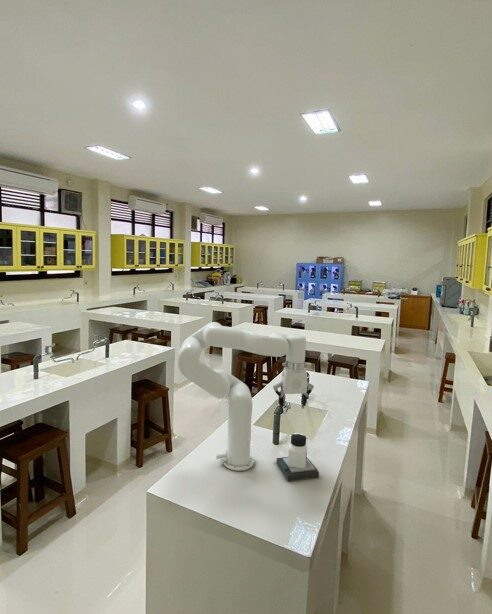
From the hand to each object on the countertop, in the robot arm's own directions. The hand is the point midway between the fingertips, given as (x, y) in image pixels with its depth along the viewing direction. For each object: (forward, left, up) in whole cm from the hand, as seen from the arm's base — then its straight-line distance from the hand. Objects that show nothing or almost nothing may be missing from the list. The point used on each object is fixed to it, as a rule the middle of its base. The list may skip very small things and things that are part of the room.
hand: (292, 405), depth 155 cm
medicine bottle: (+1, -6, -23) cm, 23 cm away
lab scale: (+1, -6, -25) cm, 26 cm away
